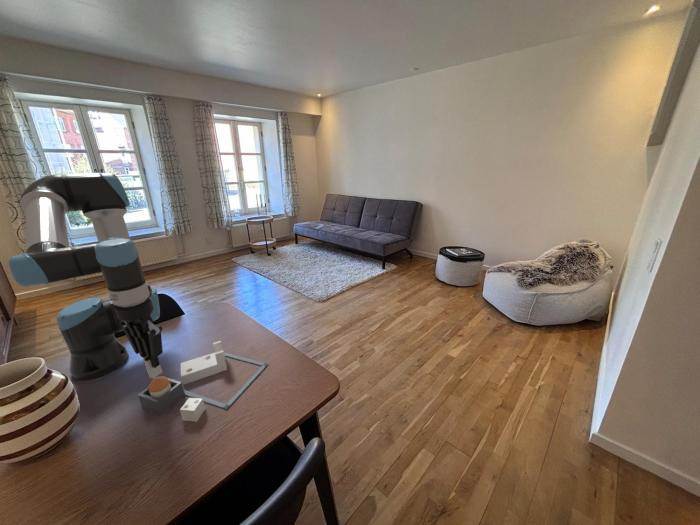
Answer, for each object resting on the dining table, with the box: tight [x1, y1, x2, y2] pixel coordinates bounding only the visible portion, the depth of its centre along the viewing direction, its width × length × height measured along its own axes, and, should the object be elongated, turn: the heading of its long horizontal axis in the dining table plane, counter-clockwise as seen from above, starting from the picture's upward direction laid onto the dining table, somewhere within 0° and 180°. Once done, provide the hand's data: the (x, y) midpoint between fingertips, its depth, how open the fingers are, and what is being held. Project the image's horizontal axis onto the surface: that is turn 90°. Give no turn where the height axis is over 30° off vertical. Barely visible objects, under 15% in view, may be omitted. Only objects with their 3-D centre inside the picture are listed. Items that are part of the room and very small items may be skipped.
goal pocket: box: [184, 352, 268, 411], centre depth 90 cm, size 18×19×1 cm
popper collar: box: [137, 376, 186, 417], centre depth 81 cm, size 8×8×5 cm
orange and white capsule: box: [148, 375, 171, 399], centre depth 80 cm, size 5×5×8 cm
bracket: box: [180, 340, 228, 386], centre depth 93 cm, size 13×7×8 cm, turn 120°
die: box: [179, 397, 206, 422], centre depth 77 cm, size 4×4×4 cm
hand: (155, 374), depth 79 cm, fingers closed
